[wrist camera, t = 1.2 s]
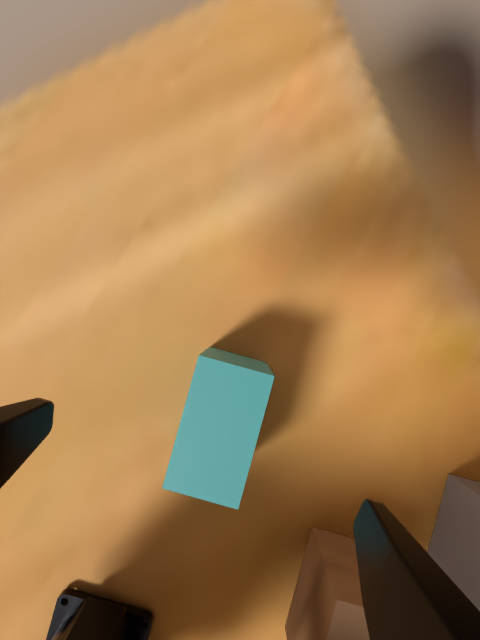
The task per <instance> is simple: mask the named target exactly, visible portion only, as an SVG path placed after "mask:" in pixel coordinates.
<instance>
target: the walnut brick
mask: <svg viewBox="0 0 480 640" xmlns="http://www.w3.org/2000/svg"><path fill="white" fill-rule="evenodd" d="M285 630H286V637H287V640H370V638H369V633H368V628H367V623H366V618H365V613H364V608H363V603H362V596H361V589H360V580H359V572H358V564H357V556H356V548H355V539H353V538H350V537H346V536H343V535H339V534H336V533H332V532H329V531H325V530H321V529H318V528H314V527H312V529H311V533H310V536H309V540H308V544H307V547H306V551H305V555H304V558H303V562H302V566H301V569H300V573H299V577H298V581H297V584H296V588H295V592H294V595H293V599H292V603H291V606H290V610H289V614H288V617H287V621H286V625H285Z"/></svg>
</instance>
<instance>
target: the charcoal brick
mask: <svg viewBox="0 0 480 640" xmlns="http://www.w3.org/2000/svg"><path fill="white" fill-rule="evenodd" d="M427 553H428V554H429V555H430V556H431V557H432V558H433V560H434V561H435V562H436V563H437V564H438V565H439V566H440V567H441V568H442V570H443V571H444V572H445V573H446V574H447V575H448V576H449V577H450V578H451V580H452V581H453V582H454V583H455V584H456V585H457V586H458V587H459V589H460V590H461V591H462V592H463V593H464V594H465V595H466V596H467V597H468V599H469V600H470V601H471V602H472V603H473V604H474V605H475V606H476V607H477V609H478V610H479V611H480V482H477V481H474V480H470V479H467V478H463V477H459V476H456V475H452V474H448V478H447V481H446V485H445V489H444V492H443V496H442V500H441V504H440V507H439V511H438V515H437V518H436V522H435V526H434V530H433V533H432V537H431V541H430V544H429V548H428V552H427Z"/></svg>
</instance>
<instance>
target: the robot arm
mask: <svg viewBox="0 0 480 640" xmlns="http://www.w3.org/2000/svg"><path fill="white" fill-rule="evenodd" d="M53 412H54V404H53V402H51V401H49V400H46V399H42V398H35V399H31V400H26V401H22V402H18V403H14V404H10V405H6V406H2V407H0V488H1V487H2V486H3V485H4V484H5V483H6V482H7V481H8V480H9V479H10V477H11V476H12V475H13V474H14V473H15V472H16V471H17V470H18V468H19V467H20V466H21V465H22V464H23V463H24V462H25V460H26V459H27V458H28V457H29V456H30V455H31V454H32V452H33V451H34V450H35V449H36V448H37V447H38V446H39V444H40V443H41V442H42V441H43V440H44V439H45V438H46V437H47V435H48V434H49V433H50V431H51V429H52V425H53ZM353 531H354V539H355V548H356V556H357V564H358V572H359V580H360V589H361V596H362V603H363V608H364V613H365V618H366V623H367V628H368V633H369V638H370V640H480V611H479V610H478V609H477V607H476V606H475V605H474V604H473V603H472V602H471V601H470V600H469V599H468V597H467V596H466V595H465V594H464V593H463V592H462V591H461V590H460V589H459V587H458V586H457V585H456V584H455V583H454V582H453V581H452V580H451V578H450V577H449V576H448V575H447V574H446V573H445V572H444V571H443V570H442V568H441V567H440V566H439V565H438V564H437V563H436V562H435V561H434V560H433V558H432V557H431V556H430V555H429V554H428V553H427V552H426V551H425V550H424V548H423V547H422V546H421V545H420V544H419V543H418V542H417V541H416V540H415V538H414V537H413V536H412V535H411V534H410V533H409V532H408V531H407V530H406V528H405V527H404V526H403V525H402V524H401V523H400V522H399V521H398V520H397V518H396V517H395V516H394V515H393V514H392V513H391V512H390V511H389V510H388V508H387V507H386V506H385V505H384V504H383V503H381V502H379V501H375V500H372V499H365V500H364V501H363V503H362V505H361V507H360V510H359V512H358V514H357V516H356V518H355V521H354V526H353ZM153 620H154V616H153V614H152V613H151V612H150V611H147V610H144V609H140V608H137V607H133V606H130V605H126V604H123V603H119V602H116V601H112V600H109V599H105V598H102V597H98V596H95V595H91V594H88V593H84V592H81V591H77V590H74V589H70V588H67V589H64V590H63V591H62V593H61V594H60V596H59V597H58V599H57V602H56V606H55V610H54V613H53V617H52V621H51V624H50V628H49V631H48V635H47V639H46V640H148V639H149V635H150V631H151V628H152V624H153ZM145 621H147V622H145Z"/></svg>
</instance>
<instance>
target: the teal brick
mask: <svg viewBox="0 0 480 640" xmlns="http://www.w3.org/2000/svg"><path fill="white" fill-rule="evenodd" d="M274 377H275V376H274V374H273V373H272V371H271V369H270V368H269V366H268V365H267V363H266V362H263V361H260V360H256V359H252V358H249V357H245V356H242V355H238V354H234V353H231V352H227V351H224V350H220V349H216V348H213V347H209V348H208V349H206V350H205V351H204V352H203V353H201V354H200V355H199V357H198V361H197V364H196V368H195V372H194V375H193V379H192V382H191V386H190V390H189V393H188V397H187V400H186V404H185V408H184V411H183V415H182V419H181V422H180V426H179V429H178V433H177V437H176V440H175V444H174V447H173V451H172V455H171V458H170V462H169V465H168V469H167V473H166V476H165V480H164V484H163V487H162V489H166V490H170V491H173V492H177V493H180V494H184V495H187V496H191V497H194V498H198V499H202V500H205V501H209V502H212V503H216V504H219V505H223V506H226V507H230V508H234V509H237V510H238V509H239V505H240V501H241V498H242V494H243V490H244V487H245V483H246V479H247V476H248V472H249V469H250V465H251V461H252V458H253V454H254V450H255V447H256V443H257V439H258V436H259V432H260V428H261V425H262V421H263V417H264V414H265V410H266V406H267V403H268V399H269V396H270V392H271V388H272V385H273V381H274Z"/></svg>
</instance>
